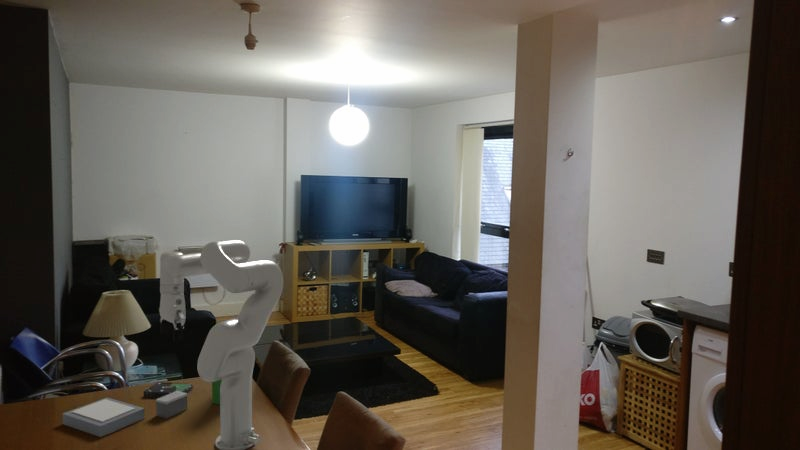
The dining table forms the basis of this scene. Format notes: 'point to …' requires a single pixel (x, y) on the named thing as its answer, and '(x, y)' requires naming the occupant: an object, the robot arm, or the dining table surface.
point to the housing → (171, 404)
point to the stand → (103, 416)
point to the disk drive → (166, 389)
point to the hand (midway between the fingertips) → (171, 336)
